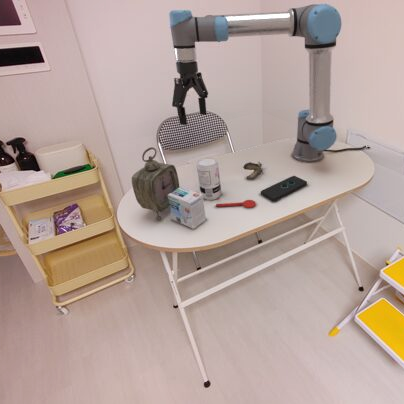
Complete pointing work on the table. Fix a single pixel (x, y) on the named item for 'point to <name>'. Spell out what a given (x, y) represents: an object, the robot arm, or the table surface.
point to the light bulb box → (187, 207)
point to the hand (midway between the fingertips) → (193, 119)
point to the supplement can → (209, 178)
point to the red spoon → (246, 204)
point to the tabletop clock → (154, 184)
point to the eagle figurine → (254, 167)
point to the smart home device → (283, 188)
